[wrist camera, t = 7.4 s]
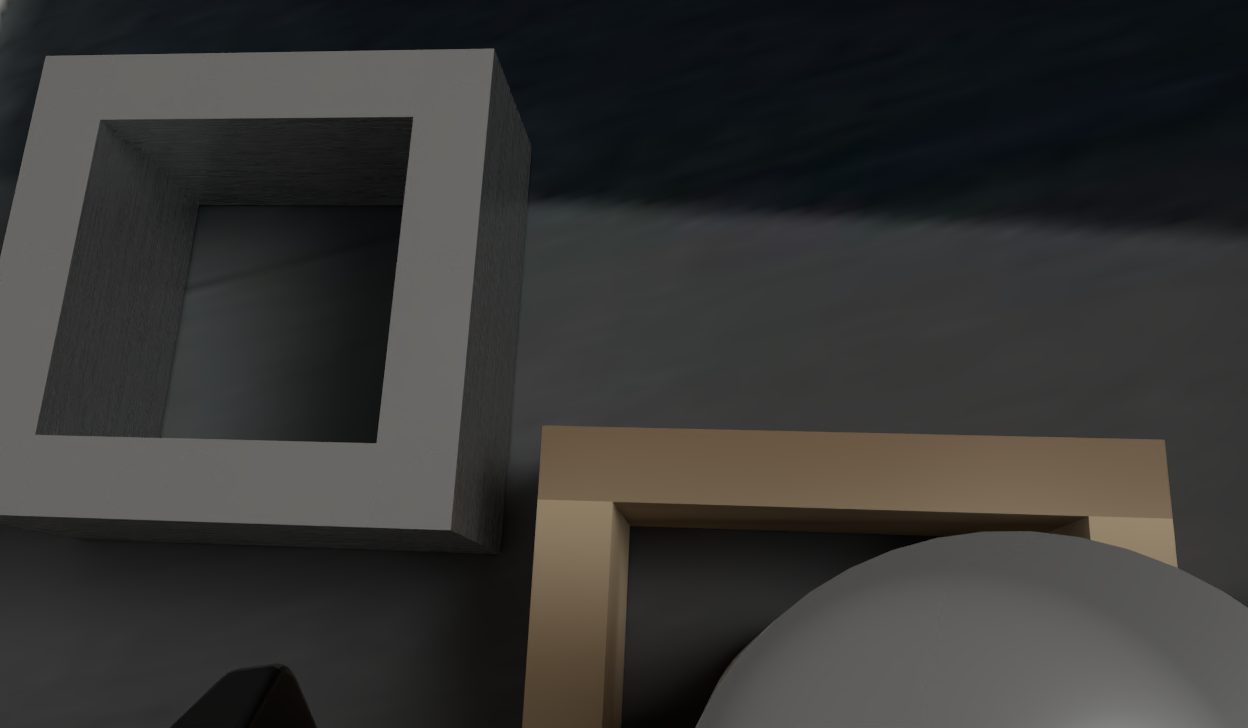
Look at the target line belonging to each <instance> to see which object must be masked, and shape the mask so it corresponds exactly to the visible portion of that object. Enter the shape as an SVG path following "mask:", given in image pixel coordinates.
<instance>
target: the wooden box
mask: <svg viewBox="0 0 1248 728" xmlns="http://www.w3.org/2000/svg"><path fill="white" fill-rule="evenodd" d="M630 526H644V527H674V528H705V529H735V530H766V531H796V532H827V533H857V534H888V535H918V536H954V535H962V534H969V533H977V532H995V531H1033V532H1041V533H1049V534H1058V535H1066V536H1074V537H1081V538H1085V539H1089V540H1093V541H1097V542H1101V543H1105V544H1109V545H1113V546H1117V547H1122V548H1126V549H1129V550H1132V551H1134V552H1137V553H1140V554H1142V555H1145V556H1148V557H1150V558H1153V559H1156V560H1158V561H1161V562H1164V563H1166V564H1169V565H1171V566H1174V567H1177V557H1176V548H1175V538H1174V528H1173V518H1172V508H1171V499H1170V489H1169V479H1168V469H1167V459H1166V450H1165V440H1153V439H1109V438H1065V437H1021V436H977V435H933V434H889V433H845V432H801V431H757V430H713V429H669V428H625V427H581V426H543V427H542V442H541V457H540V472H539V486H538V501H537V516H536V530H535V545H534V560H533V575H532V589H531V604H530V619H529V634H528V648H527V663H526V678H525V692H524V707H523V722H522V728H621V722H622V699H623V676H624V652H625V629H626V606H627V582H628V559H629V535H630ZM1177 568H1178V567H1177Z"/></svg>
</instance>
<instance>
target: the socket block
mask: <svg viewBox="0 0 1248 728" xmlns="http://www.w3.org/2000/svg"><path fill="white" fill-rule="evenodd" d="M531 148H532V147H531V144H530V142H529V139H528V137H527V134H526V131H525V129H524V126H523V123H522V121H521V118H520V115H519V113H518V110H517V108H516V105H515V102H514V100H513V97H512V94H511V92H510V89H509V86H508V84H507V81H506V79H505V76H504V73H503V71H502V68H501V65H500V63H499V60H498V57H497V55H496V52H495V50H494V49H450V50H389V51H327V52H265V53H204V54H142V55H81V56H46V58H45V63H44V67H43V71H42V76H41V80H40V85H39V89H38V93H37V98H36V102H35V107H34V111H33V115H32V120H31V124H30V129H29V133H28V137H27V142H26V146H25V151H24V155H23V159H22V164H21V168H20V173H19V177H18V181H17V186H16V190H15V195H14V199H13V203H12V208H11V212H10V217H9V221H8V225H7V230H6V234H5V239H4V243H3V247H2V252H1V256H0V524H2V525H7V526H13V527H18V528H23V529H28V530H33V531H39V532H44V533H49V534H54V535H60V536H65V537H70V538H75V539H95V540H122V541H150V542H178V543H205V544H233V545H261V546H288V547H316V548H344V549H371V550H399V551H427V552H454V553H482V554H500V552H501V539H502V526H503V513H504V500H505V487H506V474H507V461H508V448H509V435H510V422H511V409H512V396H513V383H514V370H515V357H516V344H517V331H518V318H519V305H520V292H521V279H522V266H523V253H524V240H525V227H526V214H527V200H528V187H529V174H530V161H531ZM199 205H403V213H402V222H401V231H400V240H399V248H398V257H397V266H396V275H395V284H394V293H393V302H392V310H391V319H390V328H389V337H388V346H387V355H386V364H385V372H384V381H383V390H382V399H381V408H380V417H379V426H378V434H377V443H342V442H302V441H262V440H222V439H182V438H159V435H160V429H161V423H162V417H163V411H164V406H165V400H166V394H167V388H168V382H169V377H170V371H171V365H172V359H173V353H174V348H175V342H176V336H177V330H178V324H179V319H180V313H181V307H182V301H183V295H184V290H185V284H186V278H187V272H188V266H189V261H190V255H191V249H192V243H193V238H194V232H195V226H196V220H197V214H198V209H199Z"/></svg>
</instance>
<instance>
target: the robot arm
mask: <svg viewBox="0 0 1248 728" xmlns="http://www.w3.org/2000/svg"><path fill="white" fill-rule="evenodd" d="M170 728H317V726H316V724H315V722H314V719H313V717H312V715H311V712H310V710H309V708H308V705H307V703H306V701H305V698H304V696H303V693H302V691H301V689H300V686H299V684H298V682H297V679H296V677H295V676H294V674H293V672H292V671H291V670H290V669H289V668H288V667H287V666H285V665H282V664H270V665H262V666H255V667H248V668H241V669H237V670H234V671H231V672H229V673H227V674H226V675H225V676H224V677H222V678H221V679H220V680H219V681H218V682H217V683H216V684H215V685H214V686H213V687H212V688H211V689H210V690H209V691H208V692H207V693H205V694H204V695H203V696H202V697H201V698H200V699H199V700H198V701H197V702H196V703H195V704H194V705H193V706H192V707H191V708H190V709H189V710H188V711H187V712H186V713H185V714H184V715H183V716H182V717H181V718H179V719H178V720H177V721H176V722H175V723H174V724H173V725H172V726H171V727H170Z"/></svg>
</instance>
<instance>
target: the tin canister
mask: <svg viewBox="0 0 1248 728" xmlns="http://www.w3.org/2000/svg"><path fill="white" fill-rule="evenodd" d="M695 728H1248V608H1247V607H1246V606H1244V605H1243V604H1241V603H1240V602H1238V601H1237V600H1235V599H1234V598H1232V597H1231V596H1229V595H1228V594H1226V593H1225V592H1223V591H1221V590H1219V589H1217V588H1215V587H1213V586H1212V585H1210V584H1208V583H1206V582H1204V581H1202V580H1200V579H1198V578H1196V577H1194V576H1192V575H1190V574H1188V573H1186V572H1184V571H1183V570H1181V569H1179V568H1177V567H1174V566H1171V565H1169V564H1166V563H1164V562H1161V561H1158V560H1156V559H1153V558H1150V557H1148V556H1145V555H1142V554H1140V553H1137V552H1134V551H1132V550H1129V549H1126V548H1122V547H1117V546H1113V545H1109V544H1105V543H1101V542H1097V541H1093V540H1089V539H1085V538H1081V537H1074V536H1066V535H1058V534H1049V533H1041V532H1033V531H995V532H977V533H969V534H962V535H954V536H947V537H940V538H935V539H931V540H927V541H924V542H920V543H916V544H913V545H909V546H906V547H902V548H898V549H895V550H891V551H889V552H887V553H884V554H882V555H880V556H877V557H875V558H873V559H870V560H868V561H866V562H863V563H861V564H859V565H856V566H854V567H852V568H849V569H848V570H846V571H844V572H843V573H841V574H839V575H838V576H836V577H834V578H833V579H831V580H829V581H828V582H826V583H824V584H823V585H821V586H819V587H818V588H816V589H814V590H813V591H811V592H810V593H808V594H807V595H806V596H805V597H803V598H802V599H801V600H800V601H798V602H797V603H796V604H795V605H793V606H792V607H791V608H790V609H788V610H787V611H786V612H785V613H783V614H782V615H781V616H780V617H778V618H777V619H776V620H775V621H773V622H772V623H771V624H770V625H769V626H768V627H767V628H766V629H765V630H763V631H762V632H761V633H760V634H759V635H758V636H757V637H756V638H755V639H753V640H752V641H751V642H750V643H749V644H748V645H747V646H746V647H745V648H744V649H742V650H741V652H740V653H739V654H738V655H737V656H736V657H735V658H734V659H733V660H732V661H731V662H730V664H729V665H728V667H727V668H726V669H725V671H724V672H723V674H722V675H721V677H720V679H719V681H718V683H717V685H716V686H715V688H714V690H713V692H712V694H711V697H710V699H709V701H708V703H707V705H706V707H705V709H704V711H703V713H702V715H701V717H700V719H699V721H698V723H697V725H696V727H695Z"/></svg>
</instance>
